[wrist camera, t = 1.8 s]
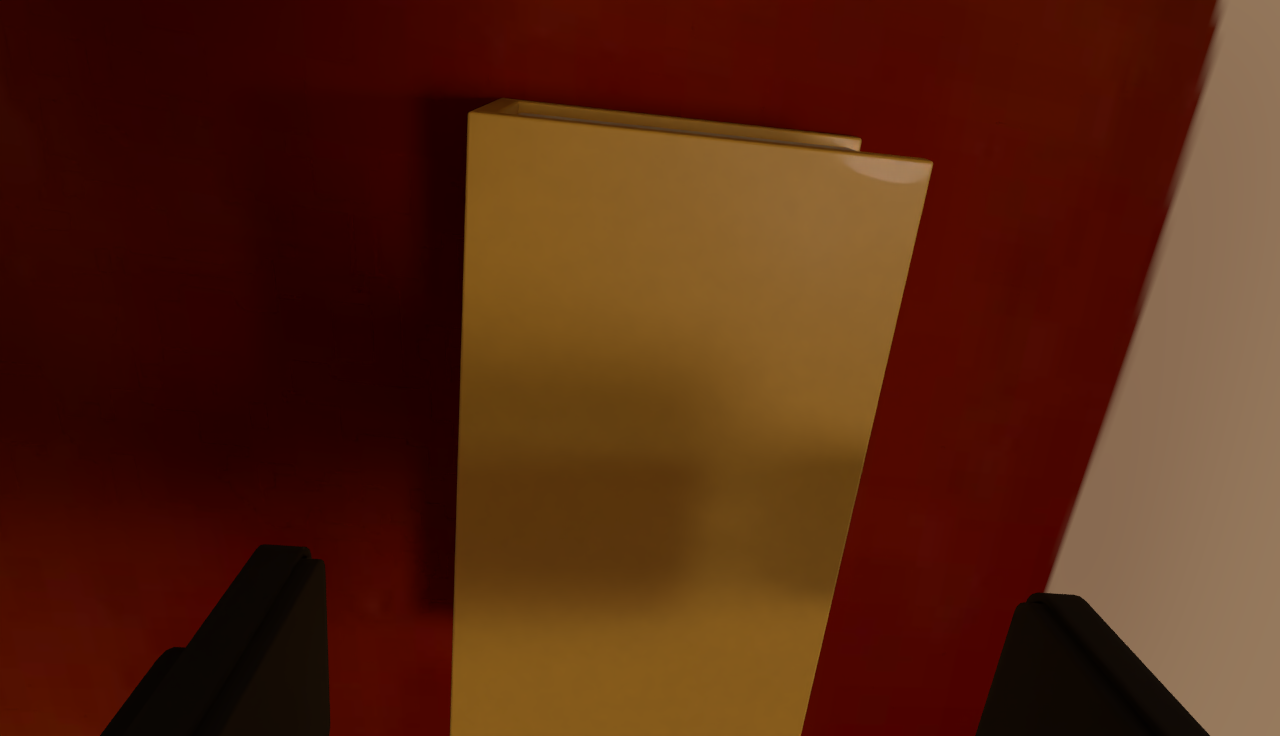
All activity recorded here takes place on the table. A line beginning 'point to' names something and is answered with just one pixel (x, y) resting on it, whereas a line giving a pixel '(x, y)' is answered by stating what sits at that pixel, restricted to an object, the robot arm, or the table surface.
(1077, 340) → the table surface
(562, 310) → the book
